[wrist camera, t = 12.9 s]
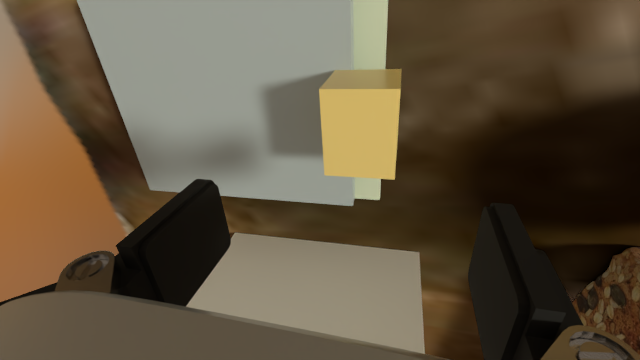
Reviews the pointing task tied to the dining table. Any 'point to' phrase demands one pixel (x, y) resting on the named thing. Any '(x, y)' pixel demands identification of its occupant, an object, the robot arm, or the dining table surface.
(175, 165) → the lid
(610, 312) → the bread
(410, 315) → the open box
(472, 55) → the dining table surface
